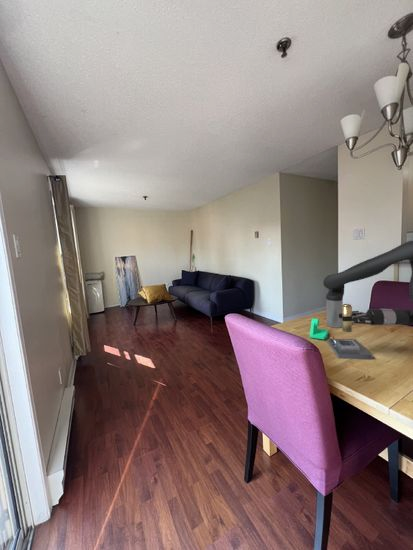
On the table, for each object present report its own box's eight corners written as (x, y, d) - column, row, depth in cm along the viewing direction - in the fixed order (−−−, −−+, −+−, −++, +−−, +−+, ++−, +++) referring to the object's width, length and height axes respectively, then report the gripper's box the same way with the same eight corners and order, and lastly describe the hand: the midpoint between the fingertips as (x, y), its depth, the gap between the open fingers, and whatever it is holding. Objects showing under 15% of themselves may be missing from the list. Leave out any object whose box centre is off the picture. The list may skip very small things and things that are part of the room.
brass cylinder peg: (341, 329, 114) (340, 303, 112) (350, 329, 113) (349, 303, 112) (344, 332, 110) (344, 305, 109) (353, 332, 109) (353, 305, 108)
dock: (326, 342, 125) (326, 334, 124) (355, 342, 122) (355, 334, 121) (338, 358, 107) (338, 349, 107) (372, 359, 104) (372, 349, 104)
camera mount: (324, 341, 127) (324, 323, 125) (310, 339, 131) (309, 321, 130) (328, 334, 136) (328, 317, 135) (314, 332, 141) (314, 315, 139)
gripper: (373, 305, 114) (335, 306, 118) (389, 313, 100) (346, 314, 104) (373, 319, 115) (335, 320, 119) (389, 330, 101) (346, 330, 105)
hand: (340, 317), depth 111 cm, fingers closed on brass cylinder peg, 4 cm apart
